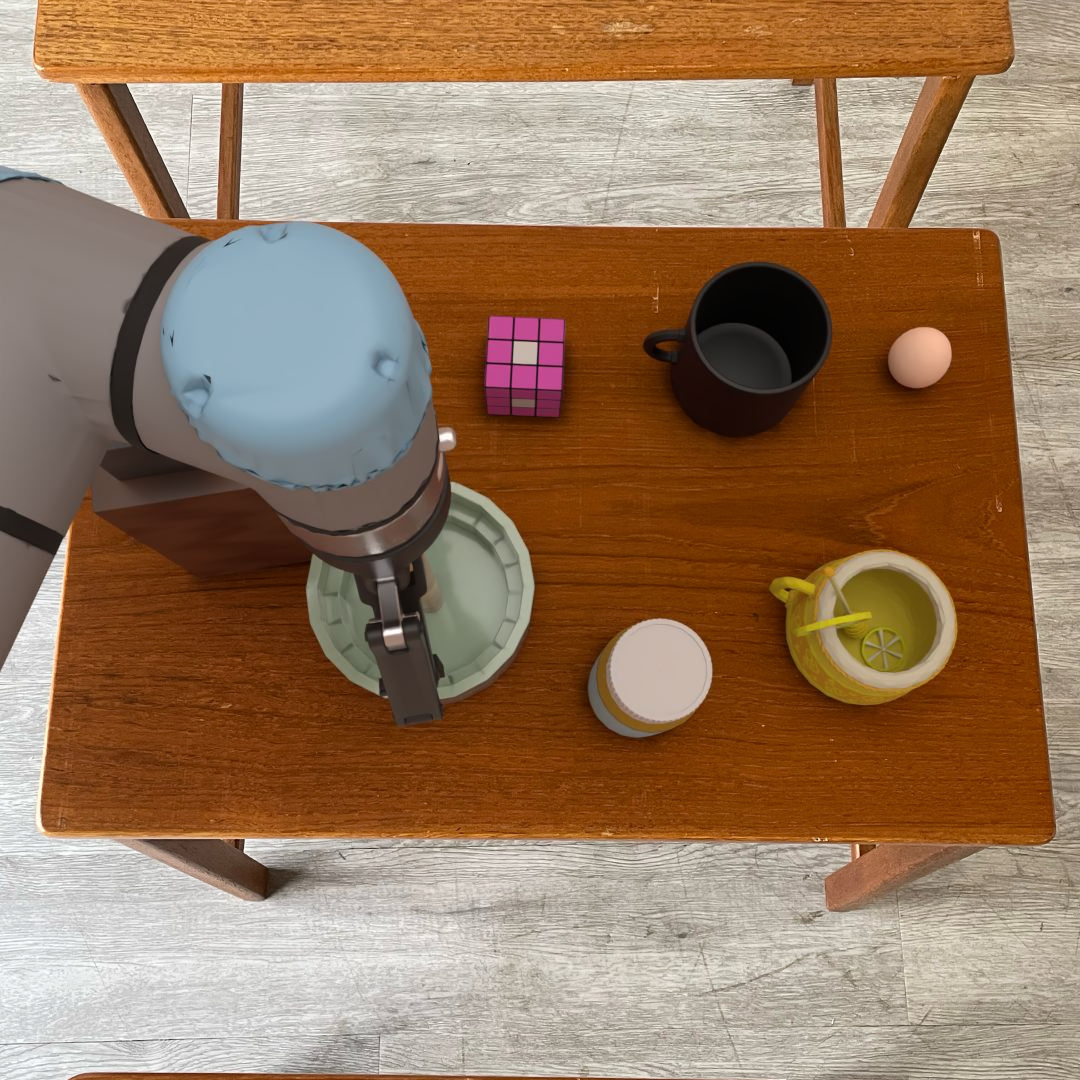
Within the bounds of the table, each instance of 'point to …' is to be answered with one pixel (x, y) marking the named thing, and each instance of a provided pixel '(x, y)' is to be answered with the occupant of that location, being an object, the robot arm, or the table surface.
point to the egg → (920, 357)
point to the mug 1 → (747, 347)
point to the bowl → (468, 602)
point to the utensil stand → (191, 514)
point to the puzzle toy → (524, 366)
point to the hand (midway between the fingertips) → (407, 567)
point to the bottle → (650, 678)
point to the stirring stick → (430, 590)
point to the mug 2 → (869, 625)
